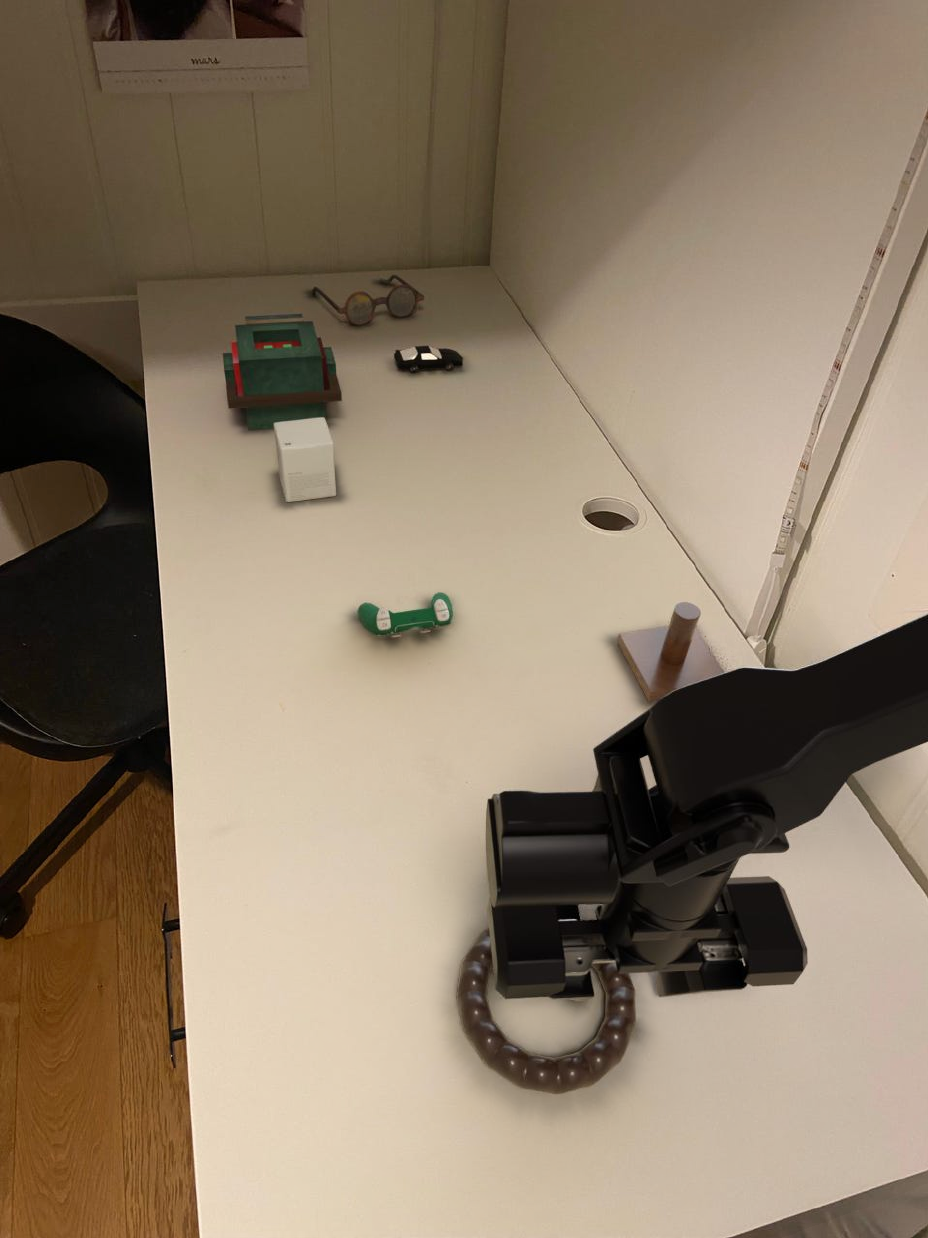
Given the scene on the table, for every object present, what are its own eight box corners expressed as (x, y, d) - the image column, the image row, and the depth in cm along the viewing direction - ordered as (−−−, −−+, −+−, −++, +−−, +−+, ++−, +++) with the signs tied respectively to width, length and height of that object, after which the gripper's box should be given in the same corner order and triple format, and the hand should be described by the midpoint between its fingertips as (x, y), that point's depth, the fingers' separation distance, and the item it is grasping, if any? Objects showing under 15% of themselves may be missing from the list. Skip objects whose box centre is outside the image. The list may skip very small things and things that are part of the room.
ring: (595, 903, 63) (600, 890, 62) (660, 1071, 55) (667, 1060, 53) (440, 937, 60) (440, 923, 59) (483, 1118, 52) (485, 1108, 51)
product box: (337, 497, 99) (334, 443, 94) (285, 504, 97) (279, 449, 92) (328, 469, 103) (325, 416, 98) (278, 475, 102) (272, 421, 97)
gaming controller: (361, 641, 84) (368, 641, 78) (355, 604, 84) (362, 601, 78) (450, 628, 86) (463, 627, 80) (444, 591, 86) (457, 588, 80)
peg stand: (689, 631, 85) (707, 577, 80) (726, 688, 80) (747, 634, 75) (616, 641, 84) (630, 587, 79) (648, 701, 78) (665, 647, 73)
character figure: (339, 313, 120) (360, 381, 106) (295, 390, 126) (309, 463, 112) (247, 263, 112) (257, 328, 98) (205, 347, 118) (208, 420, 104)
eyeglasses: (340, 329, 132) (339, 297, 128) (306, 293, 141) (303, 262, 137) (424, 314, 137) (424, 283, 134) (385, 280, 146) (385, 251, 143)
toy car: (459, 357, 127) (460, 340, 125) (465, 370, 124) (466, 352, 122) (393, 361, 125) (393, 344, 123) (398, 374, 122) (398, 357, 120)
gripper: (781, 752, 53) (717, 878, 64) (488, 759, 52) (473, 888, 62) (852, 918, 45) (765, 1031, 56) (508, 933, 43) (487, 1047, 54)
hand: (619, 991), depth 57 cm, fingers open, 5 cm apart
